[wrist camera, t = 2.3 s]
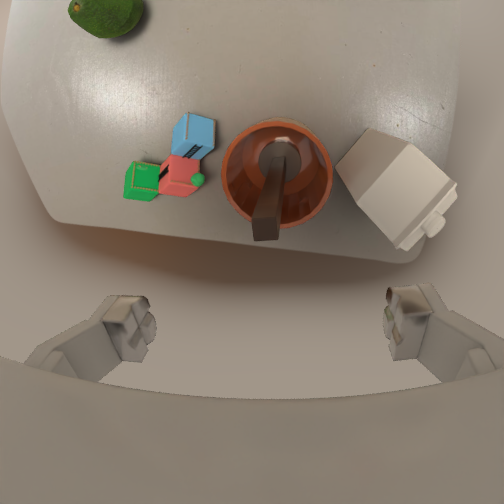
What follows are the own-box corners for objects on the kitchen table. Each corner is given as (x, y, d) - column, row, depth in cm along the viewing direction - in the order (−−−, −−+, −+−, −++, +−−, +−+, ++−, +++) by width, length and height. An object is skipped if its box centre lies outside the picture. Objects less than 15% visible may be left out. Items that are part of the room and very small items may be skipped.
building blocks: (178, 156, 45) (217, 118, 35) (175, 207, 43) (215, 179, 34) (128, 147, 40) (156, 102, 30) (122, 200, 39) (147, 166, 29)
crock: (318, 114, 35) (328, 117, 25) (324, 194, 40) (334, 225, 30) (234, 121, 37) (213, 128, 27) (245, 199, 42) (229, 232, 32)
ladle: (298, 137, 36) (306, 182, 16) (302, 176, 38) (311, 266, 18) (258, 141, 37) (214, 190, 17) (263, 179, 39) (228, 270, 19)
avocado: (97, 21, 31) (45, 9, 20) (136, -15, 28) (90, -40, 18) (123, 52, 33) (71, 44, 23) (165, 15, 31) (121, -9, 20)
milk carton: (333, 167, 38) (365, 220, 21) (368, 127, 35) (429, 150, 18) (372, 201, 39) (421, 274, 23) (406, 163, 36) (479, 213, 19)
